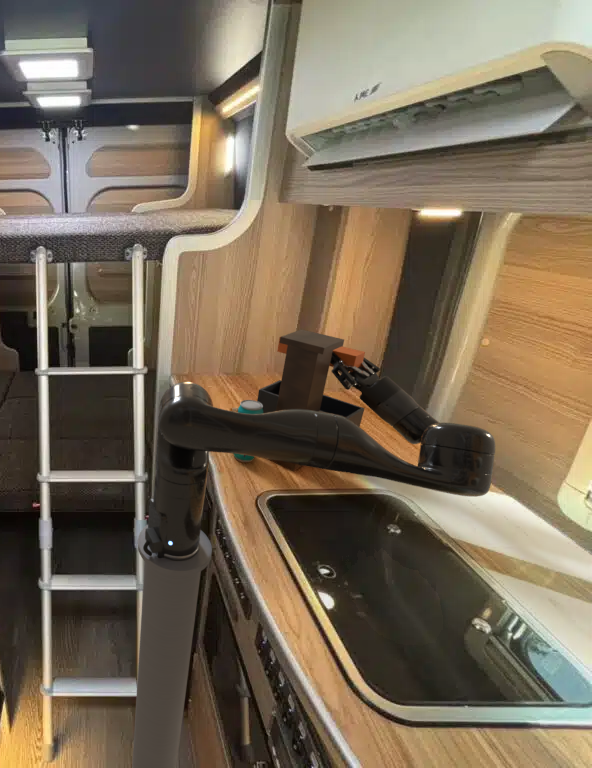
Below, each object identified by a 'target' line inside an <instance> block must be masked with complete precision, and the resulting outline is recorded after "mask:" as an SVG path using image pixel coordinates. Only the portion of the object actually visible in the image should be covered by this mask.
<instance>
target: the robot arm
mask: <svg viewBox="0 0 592 768" xmlns="http://www.w3.org/2000/svg"><path fill="white" fill-rule="evenodd" d="M330 363H331V364H332V365H333V366H334V367H332V369H331V370H330V371H331V373H332V374H333V375H334V377H335V379H337V380H338V382H339V383H340V384H341V385H342V386H343V388H344V389H345V390H350V389H351V388H354V389H356V390H358V391H359V392H360V393H361V394H360V395H359V400H361V402H363V404H365V405H366V406H367V407H368V408H369V409H370V410H371V411H372V412H374V413H375V414H376V415H377V416H378V417H379V418H380V419H381V420H382V421H383V422H385V423H386V424H387V425H389V426H390V427H392V429H394V430H395V431H396V432H397V433H398V434H399V435H400V436H401V437H402V438H403V439H404V440H406V442H408V443H409V444H411V445H419V444H420V445H419V452H418V459H417V465H415V464H413V463H410V462H408V461H406V460H404V459H402V458H400V457H398V456H397V455H395V454H394V453H392V452H391V451H389V450H388V449H386V448H385V447H384V446H383V445H381V444H380V443H379V442H378V441H377V440H375V439H374V438H373V437H372V436H371V435H370V434H369V433H368V432H367V431H366V430H364V429H363V428H362V427H361V426H360V427H359V426H358V425H356V424H355V423H354V422H352V421H351V420H349V419H347V418H346V417H344V416H341V415H337V414H332V413H325V412H319V411H313V410H307V409H287V410H280V411H274V412H269V413H263V414H245V413H238V411H233V410H227V409H224V408H219V407H216V406H214V404H213V402H214V401H213V399H212V397H211V395H210V393H209V392H208V391H207V390H206V389H205V388H204V387H203V386H202V385H200V384H197V383H195V382H191V381H181V382H177V383H174V384H173V385H171V386H170V387H168V388H167V389H166V390H165V391H164V393H163V394H162V396H161V399H160V402H159V407H158V409H159V410H158V411H159V412H158V427H157V438H156V440H157V441H156V454H155V473H154V474H155V475H154V488H153V489H154V490H153V497H151V498H149V501H148V502H149V504H148V517H147V518H148V520H147V525H148V528H146V531H145V540H146V542H145V544H144V546H143V549H144V551H145V552H146V553H147V554H148V555H149V556H151V555H152V553H156V555H157V557H158V558H166V559H169V560H174V561H184V560H188V559H191V558H192V557H194V556H195V555H196V554H197V553H198V550H199V544H200V542H199V541H200V531H202V522H203V513H204V505H205V496H206V488H207V479H208V472H209V465H210V463H209V462H210V453H224V454H233V453H234V454H242V455H248V456H254V458H260V459H266V460H269V459H271V460H278V461H284V462H289V463H294V464H298V465H302V466H301V467H308V468H309V467H310V468H313V469H314V468H315V469H320V470H326V471H332V472H339V473H347V474H354V475H359V476H360V475H361V476H367V477H371V478H372V477H373V478H378V479H381V480H387V481H391V482H396V483H400V484H406V485H409V486H414V487H417V488H422V489H427V490H431V491H435V492H440V493H443V494H448V495H455V496H461V497H472V498H473V497H483V496H485V495H486V494H488V492H489V491H490V488H491V486H492V481H493V470H494V462H495V456H496V440H495V437H494V435H493V434H492V433H491V432H489V431H488V430H486V429H485V428H482V427H479V426H476V425H470V424H465V423H456V422H439V421H438V420H437V419H435V417H433V416H432V415H431V414H430V413H429V412H428V411H426V410H425V409H424V408H423V407H422V406H420V404H418V402H417V401H416V400H415V399H414V398H413V397H412V396H411V395H410V394H409V393H407V392H406V391H405V390H404V389H403V388H402V387H401V386H399V384H397V383H396V382H395V381H394V380H392V379H391V378H390V377H389V376H388V375H384V376H382V377H381V378H380V376H379V375H378V373H379V372H380V371H381V368H380V367H379V366H377V365H376V364H375V363H373V362H372V361H370V360H369V359H367V358H366V357H364V359H363V363H361V366H360V367H358V368H357V367H356V366H354V367H353V366H352V365H348V364H347V363H346V362H344V361H343V360H341V358H340V357H339V356H337V355H336V354H335V353H334V352H332V356H331V361H330ZM344 367H346V368H347V369H345V368H344ZM350 370H353V372H349V371H350ZM234 454H233V455H234ZM271 460H270V461H271ZM148 545H149V547H150V549H151V551H152V552H151V551H150V550H148Z"/></svg>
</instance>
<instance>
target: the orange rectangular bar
mask: <svg viewBox="0 0 592 768" xmlns="http://www.w3.org/2000/svg"><path fill="white" fill-rule="evenodd" d="M279 342H280V337H279V338H278V344H277V349H276V352H278V353H280V354H285V355H286V352H287V346H288V345H285V344H282V343H279ZM333 352H334V353H335V354H336V355H337V356H339V357H340V358H341V360H343V361H344V362H346V363H347V364H348V365H352V366H353V367H354V366H356V367H357V368H358V367H360V366H361V363H363V359H364V358H365V355H366V351H362V350H360V349H356V348H355V349H354V348H351V347H346V346H344V345H343V346H341V347H339V348H337V349H334V350H333ZM329 367H331V368H333V367H334V366H333V365H332V364H331V363H330V366H329ZM344 368H345V369H347V368H346V367H344ZM349 372H353V370H350V371H349Z"/></svg>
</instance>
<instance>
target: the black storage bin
mask: <svg viewBox="0 0 592 768" xmlns="http://www.w3.org/2000/svg"><path fill="white" fill-rule="evenodd" d="M281 380H282V379H280V380H279V379H278V380H276V381H275V382H273V383H270V384H268V385H266V386H263V387H261V388H259V389H258V393H257V399H256V401H258V402H260V403H261V404H262V405H263V413H269V412H274V411H276V408H277V402H278V397H279V391H280V386H281ZM319 412H325V413H332V414H337V415H341V416H344V417H346V418H347V419H349V420H351V421H352V422H354V423H355V424H356V425H358V426H359V427H360V428H361V423H362V419H363V416H364V412H365V407H362V406H359V405H356V404H353V403H350V402H347V401H344V400H342V399H338V398H335V397H332V396H329V395H326V394H323V397H322V402H321V407H320V411H319Z"/></svg>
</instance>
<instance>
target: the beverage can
mask: <svg viewBox="0 0 592 768" xmlns="http://www.w3.org/2000/svg"><path fill="white" fill-rule="evenodd" d="M239 404H240V405H239V406H238V408H237V412H238V413H245V414H263V405H262V404H261V403H260V402H258V401H257V400H254V399H244V400H241V401H240V403H239ZM232 454H233V457H234V459H235V460H236V461H239V462H241V463H250V462H253V460H254V459H255V457H254V456H248V455H242V454H234V453H232Z"/></svg>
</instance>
